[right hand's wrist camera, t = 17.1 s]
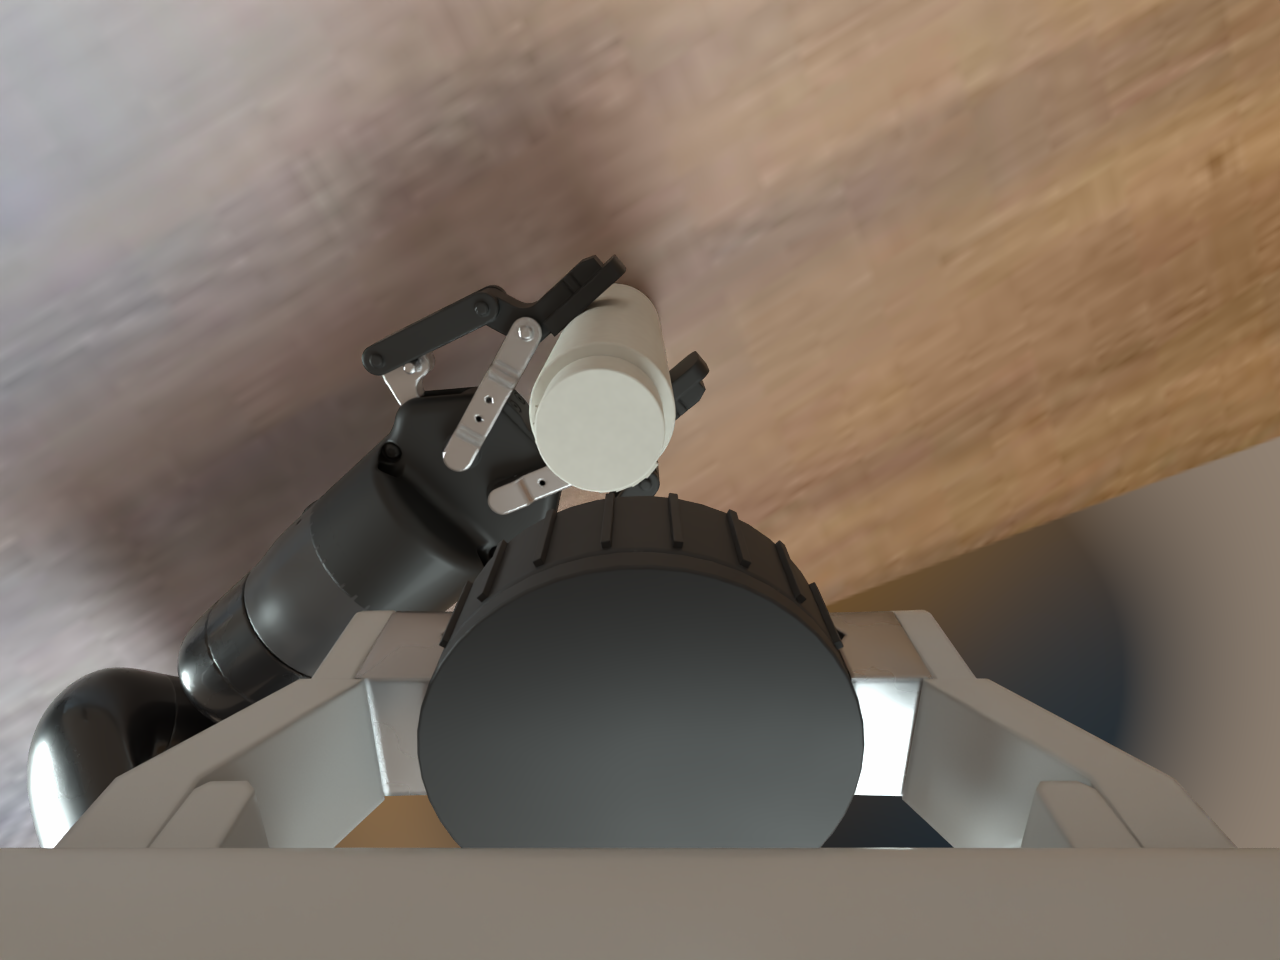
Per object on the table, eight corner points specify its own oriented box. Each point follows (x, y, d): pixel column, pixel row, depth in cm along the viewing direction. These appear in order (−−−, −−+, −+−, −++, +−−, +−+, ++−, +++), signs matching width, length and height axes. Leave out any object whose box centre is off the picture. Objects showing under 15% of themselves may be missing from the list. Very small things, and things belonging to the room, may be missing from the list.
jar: (551, 336, 36) (489, 442, 21) (608, 263, 35) (586, 319, 19) (621, 392, 37) (611, 532, 22) (679, 323, 36) (711, 421, 20)
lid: (750, 840, 11) (771, 960, 10) (416, 760, 11) (372, 873, 9) (893, 554, 10) (952, 637, 8) (499, 437, 9) (464, 501, 7)
